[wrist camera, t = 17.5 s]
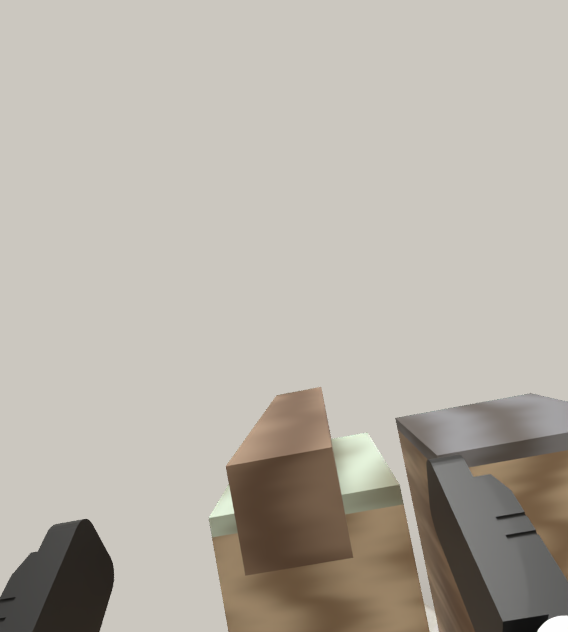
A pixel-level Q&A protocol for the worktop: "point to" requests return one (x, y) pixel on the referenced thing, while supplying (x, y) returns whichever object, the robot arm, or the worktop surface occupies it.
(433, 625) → the worktop surface
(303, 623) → the tower
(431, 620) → the worktop surface
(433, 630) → the worktop surface
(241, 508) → the walnut bar
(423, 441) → the tower
